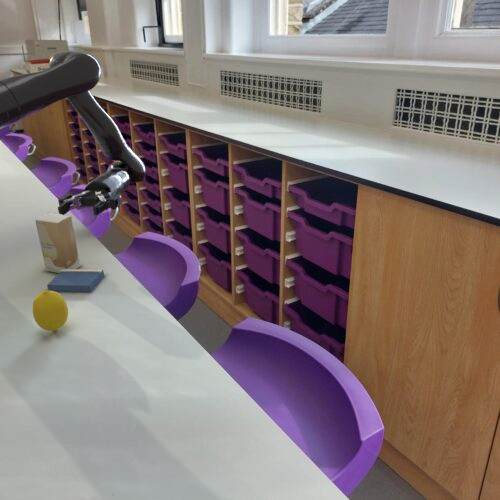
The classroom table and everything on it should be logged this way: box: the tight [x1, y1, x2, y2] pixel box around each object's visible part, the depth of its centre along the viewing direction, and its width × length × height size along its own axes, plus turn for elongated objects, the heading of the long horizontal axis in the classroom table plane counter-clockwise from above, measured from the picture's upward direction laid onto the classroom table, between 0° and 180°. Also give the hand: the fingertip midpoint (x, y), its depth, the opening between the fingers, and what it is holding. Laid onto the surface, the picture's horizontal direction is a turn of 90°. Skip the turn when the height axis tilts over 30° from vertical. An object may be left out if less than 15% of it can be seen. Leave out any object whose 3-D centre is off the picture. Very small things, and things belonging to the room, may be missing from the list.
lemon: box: [32, 289, 69, 332], centre depth 83 cm, size 6×6×8 cm
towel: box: [46, 268, 105, 293], centre depth 101 cm, size 9×7×2 cm
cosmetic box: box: [34, 212, 81, 274], centre depth 105 cm, size 6×4×12 cm
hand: (77, 211), depth 113 cm, fingers open, 8 cm apart
